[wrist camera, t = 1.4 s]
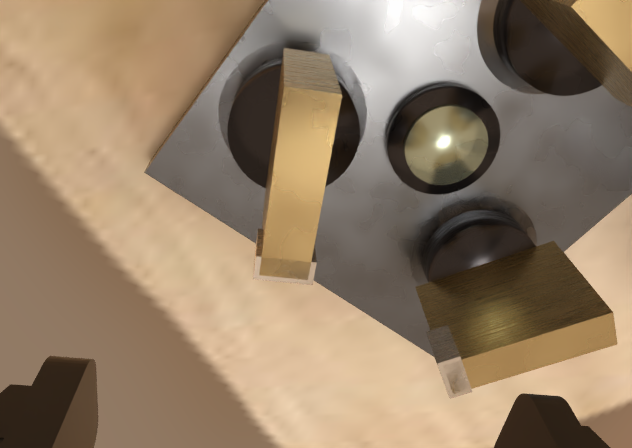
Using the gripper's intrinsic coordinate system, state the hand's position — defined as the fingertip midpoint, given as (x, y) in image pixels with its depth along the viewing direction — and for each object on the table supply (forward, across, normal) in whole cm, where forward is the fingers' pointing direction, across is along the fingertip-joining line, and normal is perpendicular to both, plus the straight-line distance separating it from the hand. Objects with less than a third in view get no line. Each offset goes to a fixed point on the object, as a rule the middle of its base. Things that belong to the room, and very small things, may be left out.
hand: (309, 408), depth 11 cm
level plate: (+18, -7, 0) cm, 20 cm away
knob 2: (+17, -11, -6) cm, 21 cm away
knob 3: (+17, -11, +6) cm, 21 cm away
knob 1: (+17, 0, 0) cm, 17 cm away
